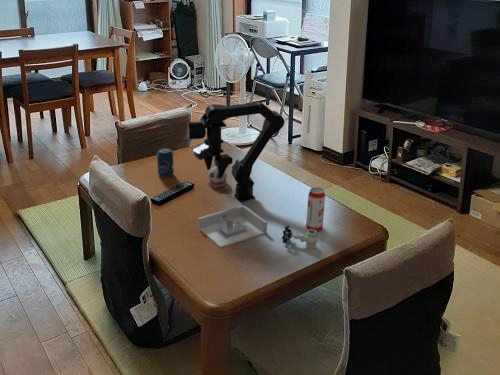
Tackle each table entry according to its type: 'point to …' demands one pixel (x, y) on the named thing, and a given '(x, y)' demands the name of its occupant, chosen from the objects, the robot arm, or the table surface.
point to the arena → (240, 214)
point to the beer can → (315, 209)
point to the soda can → (165, 162)
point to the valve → (302, 237)
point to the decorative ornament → (216, 178)
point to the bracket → (230, 226)
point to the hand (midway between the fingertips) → (214, 173)
